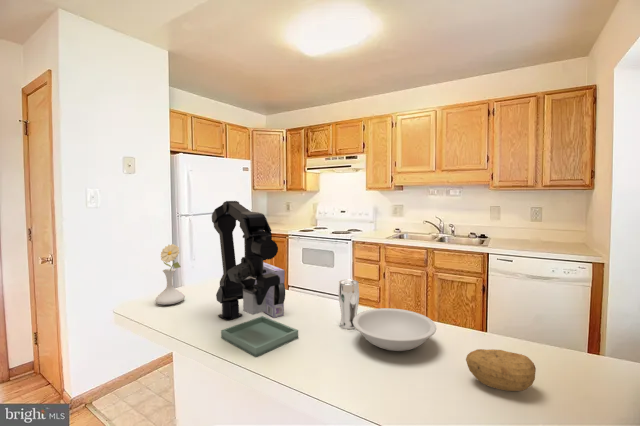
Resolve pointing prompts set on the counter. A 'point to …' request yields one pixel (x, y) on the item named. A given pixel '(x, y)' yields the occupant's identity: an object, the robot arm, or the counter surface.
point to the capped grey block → (252, 301)
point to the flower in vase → (170, 277)
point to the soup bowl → (394, 328)
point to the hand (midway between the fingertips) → (254, 302)
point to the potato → (502, 369)
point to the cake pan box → (275, 292)
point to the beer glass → (348, 302)
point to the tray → (259, 335)
